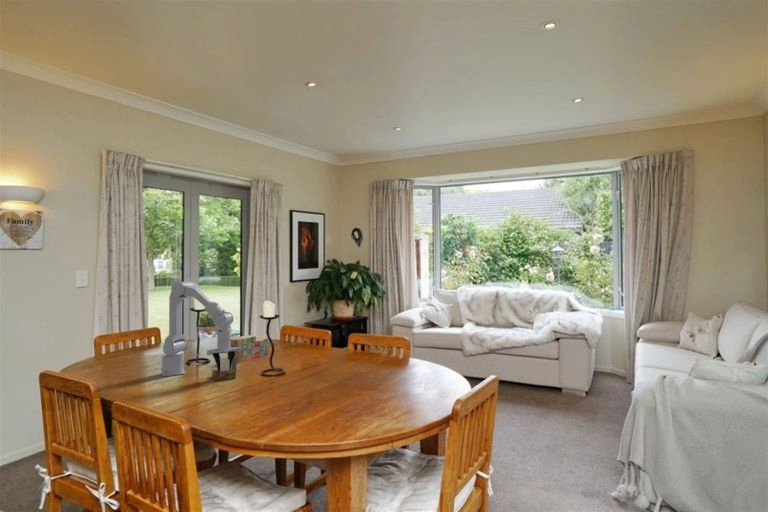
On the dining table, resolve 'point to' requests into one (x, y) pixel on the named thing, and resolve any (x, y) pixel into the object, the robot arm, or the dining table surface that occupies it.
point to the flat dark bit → (233, 364)
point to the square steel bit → (224, 365)
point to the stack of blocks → (249, 347)
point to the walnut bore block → (223, 375)
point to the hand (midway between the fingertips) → (223, 368)
